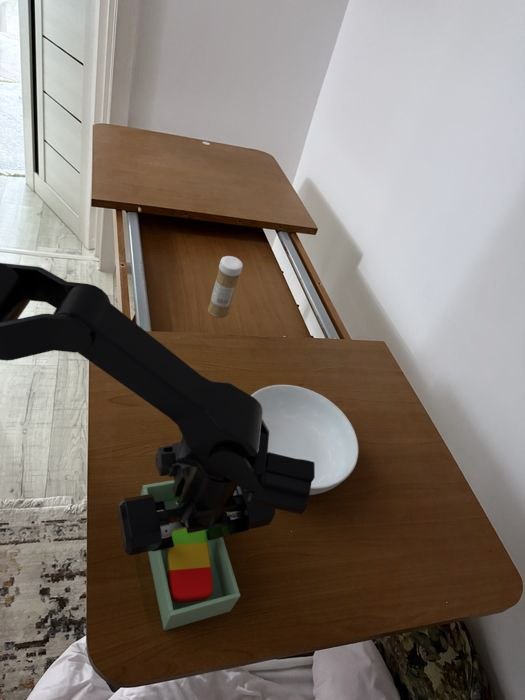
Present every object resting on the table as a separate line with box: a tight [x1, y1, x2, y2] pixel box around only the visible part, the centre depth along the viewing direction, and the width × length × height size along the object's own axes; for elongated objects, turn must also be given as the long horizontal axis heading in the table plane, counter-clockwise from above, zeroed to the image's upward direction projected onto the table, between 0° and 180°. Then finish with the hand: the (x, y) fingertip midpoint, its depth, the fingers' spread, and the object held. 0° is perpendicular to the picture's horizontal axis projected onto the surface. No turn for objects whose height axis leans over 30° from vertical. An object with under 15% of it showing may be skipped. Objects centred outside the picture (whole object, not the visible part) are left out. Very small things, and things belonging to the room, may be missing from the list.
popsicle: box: [166, 528, 213, 603], centre depth 68 cm, size 6×15×2 cm, turn 12°
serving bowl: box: [250, 384, 359, 496], centre depth 86 cm, size 21×21×7 cm
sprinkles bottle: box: [207, 255, 244, 319], centre depth 105 cm, size 5×5×13 cm
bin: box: [140, 479, 241, 632], centre depth 69 cm, size 18×9×6 cm, turn 20°
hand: (186, 541), depth 68 cm, fingers closed on popsicle, 6 cm apart
